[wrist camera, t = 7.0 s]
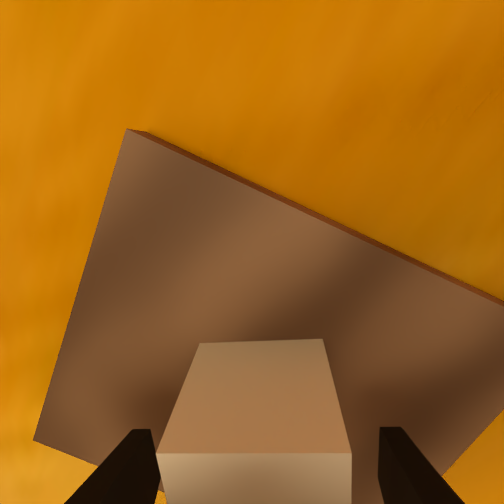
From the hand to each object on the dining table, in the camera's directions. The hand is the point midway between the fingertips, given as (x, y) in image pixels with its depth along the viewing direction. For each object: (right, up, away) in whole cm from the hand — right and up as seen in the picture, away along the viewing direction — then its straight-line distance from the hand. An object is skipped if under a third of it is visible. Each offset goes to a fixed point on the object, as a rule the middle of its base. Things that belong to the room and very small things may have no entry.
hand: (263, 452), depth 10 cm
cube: (0, +1, +2) cm, 2 cm away
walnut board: (0, +1, +4) cm, 4 cm away
